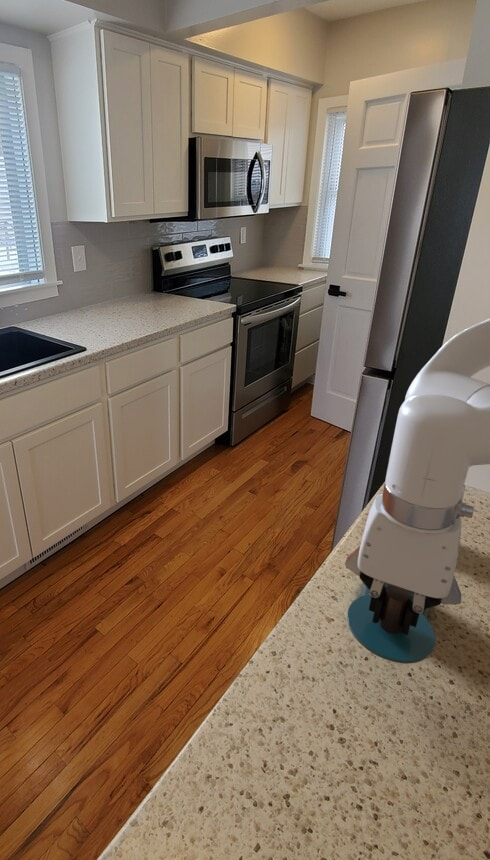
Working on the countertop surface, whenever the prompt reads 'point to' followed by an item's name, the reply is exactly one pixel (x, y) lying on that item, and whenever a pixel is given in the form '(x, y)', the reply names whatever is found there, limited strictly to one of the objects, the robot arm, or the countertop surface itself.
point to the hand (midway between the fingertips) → (391, 619)
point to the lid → (391, 628)
